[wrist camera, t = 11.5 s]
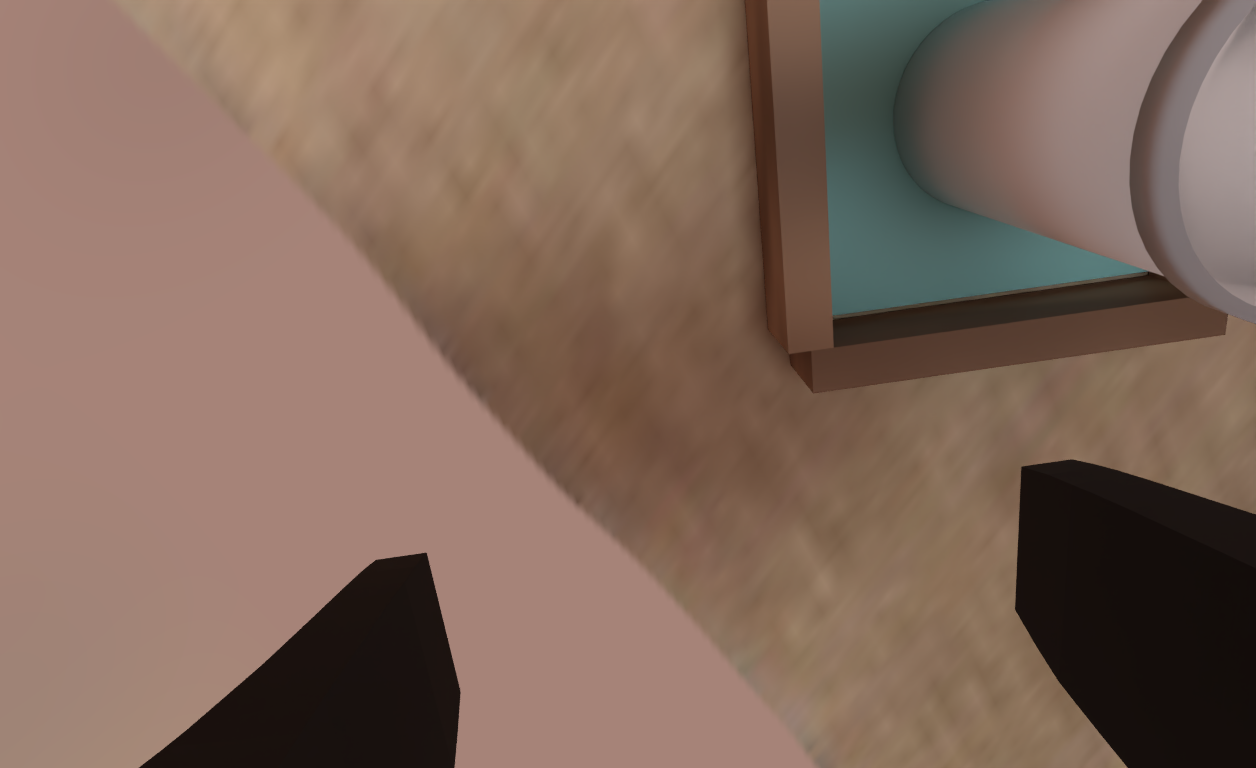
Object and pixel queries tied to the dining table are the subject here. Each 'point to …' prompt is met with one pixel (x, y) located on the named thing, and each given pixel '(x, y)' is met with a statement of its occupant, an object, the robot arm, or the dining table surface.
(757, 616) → the dining table surface
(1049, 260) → the brown flat frame
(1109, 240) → the tube
